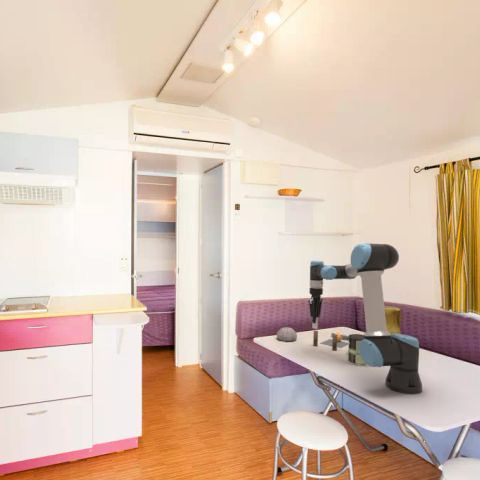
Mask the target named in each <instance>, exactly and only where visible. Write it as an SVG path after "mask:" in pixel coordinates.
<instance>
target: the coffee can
mask: <svg viewBox="0 0 480 480" xmlns="http://www.w3.org/2000/svg"><path fill="white" fill-rule="evenodd" d="M363 335H364V334H359V333H351V334H349V335H348V336H349V341H348V343H349V344H348V351H347V356H348V357H347V362H348V364H351V365H353V366H359V367H360V366H361V367H364V366H368V365H367V364H366V363H365V362H364V361H363V360H362V358H361V356H360V353H359V344H360V342H361V341H362V340H364V337H363Z"/></svg>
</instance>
